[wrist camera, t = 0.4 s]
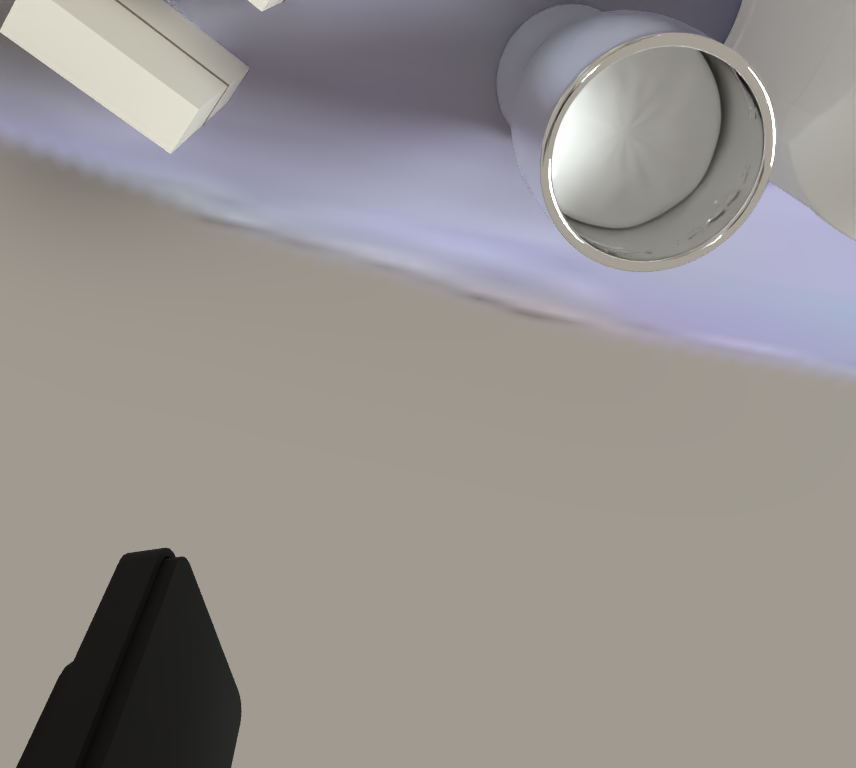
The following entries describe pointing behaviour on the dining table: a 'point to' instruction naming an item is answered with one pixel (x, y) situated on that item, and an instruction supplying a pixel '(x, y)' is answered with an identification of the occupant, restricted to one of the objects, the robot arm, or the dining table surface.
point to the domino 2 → (265, 3)
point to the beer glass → (636, 133)
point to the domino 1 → (131, 60)
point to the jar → (808, 97)
